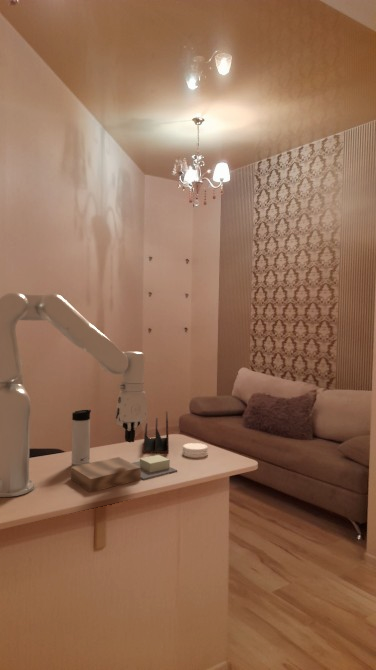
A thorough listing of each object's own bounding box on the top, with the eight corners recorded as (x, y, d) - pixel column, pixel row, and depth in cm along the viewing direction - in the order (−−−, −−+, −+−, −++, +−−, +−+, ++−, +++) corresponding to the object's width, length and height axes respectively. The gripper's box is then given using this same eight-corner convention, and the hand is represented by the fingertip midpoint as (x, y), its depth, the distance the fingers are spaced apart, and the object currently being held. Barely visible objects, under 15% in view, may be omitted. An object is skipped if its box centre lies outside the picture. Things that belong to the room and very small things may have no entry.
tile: (169, 459, 156) (169, 468, 156) (158, 454, 161) (158, 462, 162) (150, 463, 151) (150, 472, 151) (139, 458, 157) (139, 466, 157)
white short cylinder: (178, 452, 177) (178, 444, 177) (199, 449, 182) (199, 441, 182) (190, 459, 168) (190, 450, 168) (212, 456, 173) (212, 447, 173)
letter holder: (167, 440, 195) (168, 409, 194) (168, 454, 175) (169, 418, 175) (145, 440, 194) (145, 408, 194) (143, 454, 174) (143, 418, 174)
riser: (90, 492, 134) (90, 479, 134) (70, 479, 145) (70, 466, 145) (140, 479, 146) (140, 467, 145) (118, 468, 156) (118, 457, 156)
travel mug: (85, 468, 155) (86, 412, 155) (68, 467, 157) (69, 410, 156) (93, 463, 161) (93, 408, 161) (76, 461, 163) (77, 407, 162)
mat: (143, 480, 145) (143, 478, 145) (118, 467, 157) (118, 465, 157) (177, 471, 154) (177, 470, 154) (150, 460, 166) (150, 458, 166)
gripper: (119, 390, 143) (116, 446, 143) (156, 388, 153) (153, 441, 153) (107, 387, 149) (104, 441, 149) (144, 385, 158) (141, 436, 159)
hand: (129, 441), depth 151 cm, fingers closed
